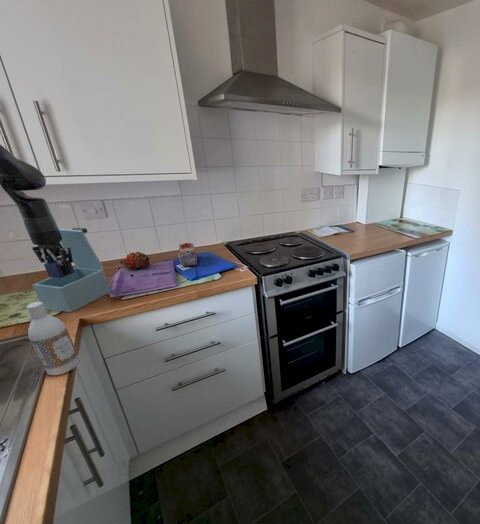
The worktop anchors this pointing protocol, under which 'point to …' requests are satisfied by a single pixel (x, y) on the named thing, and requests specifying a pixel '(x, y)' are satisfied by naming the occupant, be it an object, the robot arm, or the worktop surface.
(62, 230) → the lid
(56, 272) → the block
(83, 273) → the light blue storage bin
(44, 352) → the bath foam
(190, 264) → the food item
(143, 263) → the dragon fruit
